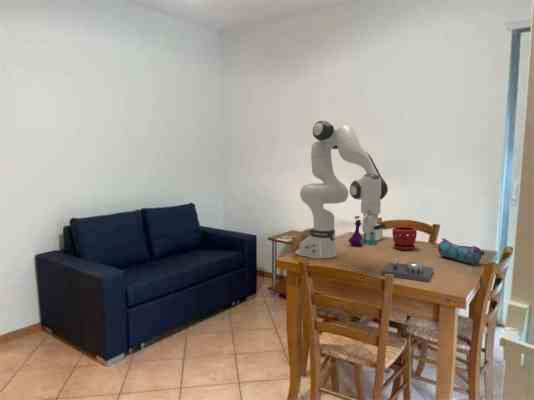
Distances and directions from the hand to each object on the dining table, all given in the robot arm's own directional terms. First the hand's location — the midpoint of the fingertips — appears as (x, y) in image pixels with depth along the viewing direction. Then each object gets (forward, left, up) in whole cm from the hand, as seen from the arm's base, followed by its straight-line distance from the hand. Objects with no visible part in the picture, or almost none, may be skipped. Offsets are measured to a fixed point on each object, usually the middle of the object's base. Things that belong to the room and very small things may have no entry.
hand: (369, 237), depth 186 cm
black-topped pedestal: (-15, +65, -16) cm, 68 cm away
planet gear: (0, 0, -3) cm, 3 cm away
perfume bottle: (-19, +44, -15) cm, 50 cm away
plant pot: (+7, +50, -15) cm, 52 cm away
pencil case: (+36, +37, -16) cm, 54 cm away
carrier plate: (+18, +2, -15) cm, 23 cm away
